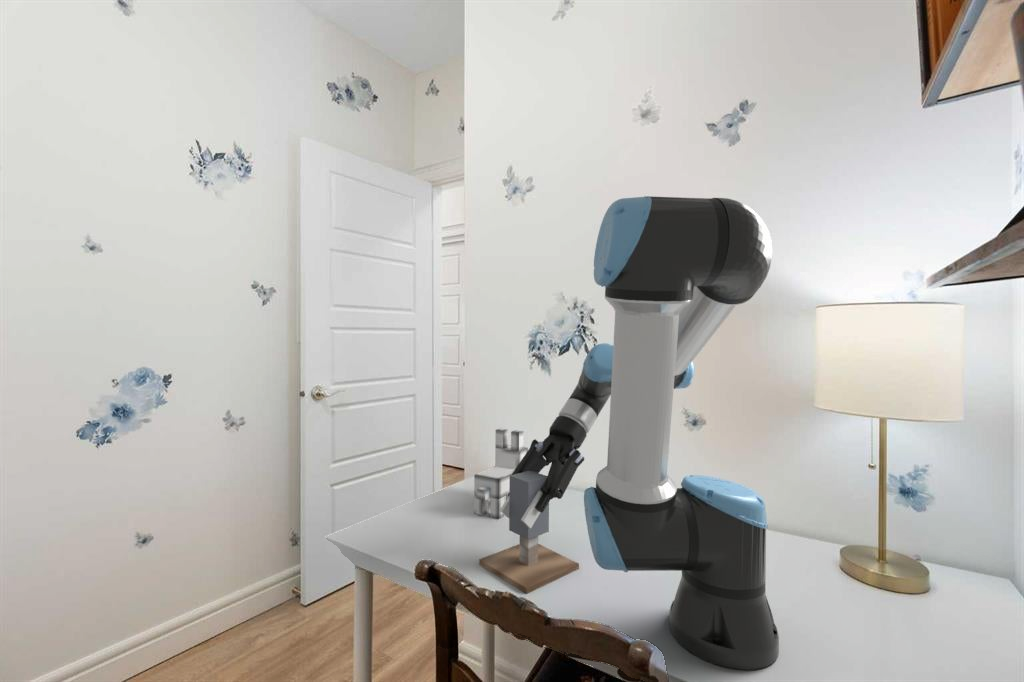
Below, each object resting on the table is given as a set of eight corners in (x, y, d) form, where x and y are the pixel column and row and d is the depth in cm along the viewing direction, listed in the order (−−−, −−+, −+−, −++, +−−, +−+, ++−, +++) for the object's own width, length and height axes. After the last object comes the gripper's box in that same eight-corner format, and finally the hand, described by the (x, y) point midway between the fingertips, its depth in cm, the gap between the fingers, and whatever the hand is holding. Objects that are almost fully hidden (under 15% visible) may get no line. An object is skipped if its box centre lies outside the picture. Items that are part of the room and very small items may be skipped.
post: (578, 568, 91) (579, 528, 91) (526, 593, 82) (526, 548, 82) (530, 544, 101) (530, 508, 101) (479, 564, 92) (479, 524, 92)
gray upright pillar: (548, 531, 92) (549, 476, 92) (528, 539, 88) (528, 482, 88) (529, 523, 96) (530, 470, 96) (509, 530, 93) (509, 475, 92)
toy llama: (468, 516, 117) (469, 437, 117) (504, 496, 132) (504, 427, 132) (493, 522, 113) (493, 441, 113) (527, 501, 128) (527, 429, 128)
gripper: (614, 443, 95) (559, 545, 84) (550, 429, 109) (495, 515, 99) (598, 420, 92) (538, 524, 81) (534, 408, 106) (475, 495, 95)
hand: (515, 518), depth 90 cm, fingers closed on gray upright pillar, 6 cm apart
